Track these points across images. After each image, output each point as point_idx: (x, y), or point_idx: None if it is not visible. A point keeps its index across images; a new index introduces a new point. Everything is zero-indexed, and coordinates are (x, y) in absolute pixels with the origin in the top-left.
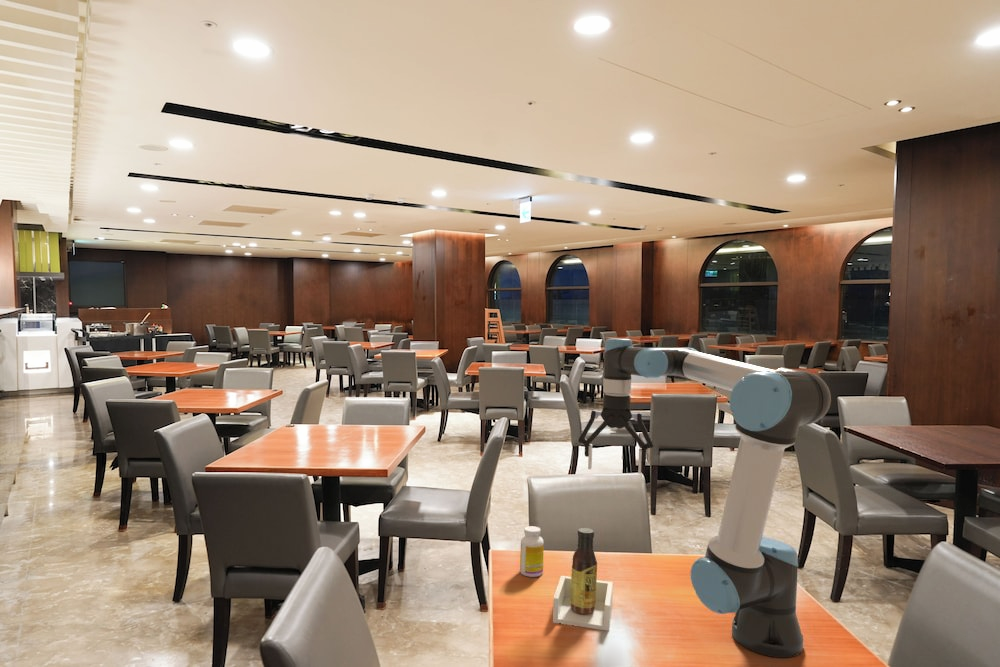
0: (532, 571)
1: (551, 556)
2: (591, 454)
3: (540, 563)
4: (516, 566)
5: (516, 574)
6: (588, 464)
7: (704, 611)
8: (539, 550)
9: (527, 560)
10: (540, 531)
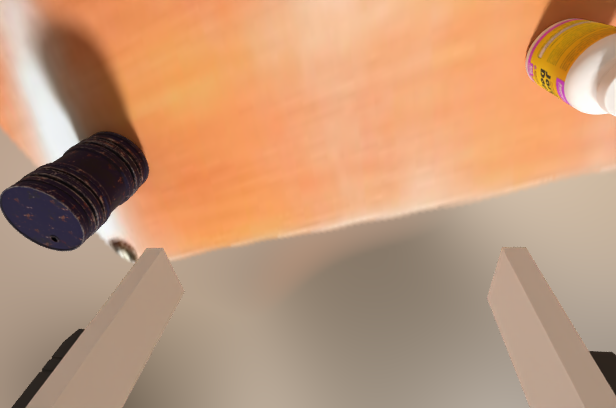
0: (568, 22)
1: (494, 167)
2: (551, 374)
3: (550, 44)
4: None
5: None
6: (541, 277)
7: (131, 5)
8: (577, 47)
9: (604, 24)
10: (603, 88)
